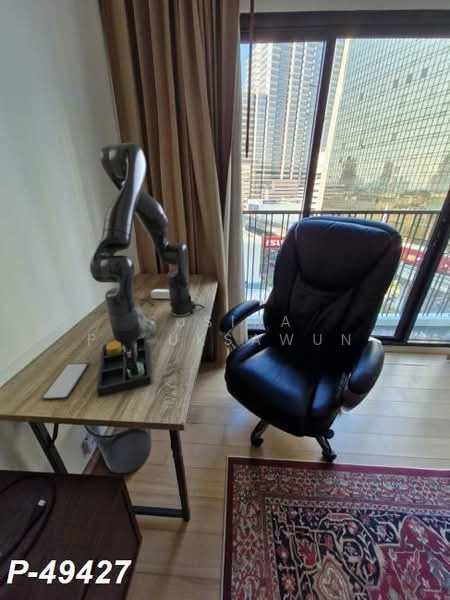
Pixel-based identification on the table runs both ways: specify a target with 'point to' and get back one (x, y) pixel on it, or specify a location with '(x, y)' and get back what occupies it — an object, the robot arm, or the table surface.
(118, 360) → the grid
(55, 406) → the table surface
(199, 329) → the table surface
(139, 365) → the green short cylinder
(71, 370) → the smartphone
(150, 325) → the dog figurine
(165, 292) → the white box
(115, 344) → the ochre token
